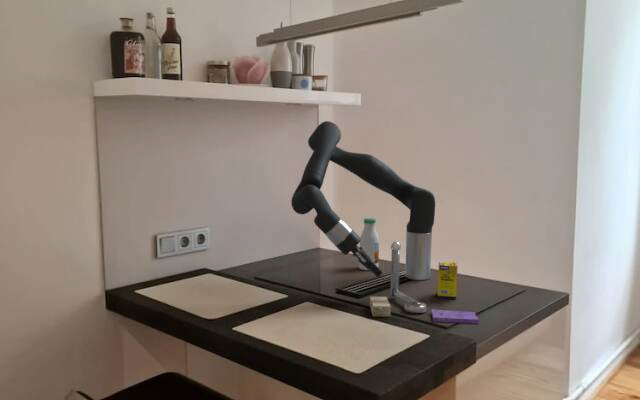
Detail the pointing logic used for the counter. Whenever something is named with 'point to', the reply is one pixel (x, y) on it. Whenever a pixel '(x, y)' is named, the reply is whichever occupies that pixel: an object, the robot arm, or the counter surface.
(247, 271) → the counter surface
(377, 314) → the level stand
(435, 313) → the sponges
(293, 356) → the counter surface
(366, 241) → the milk bottle
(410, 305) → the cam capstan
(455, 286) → the supplement box
